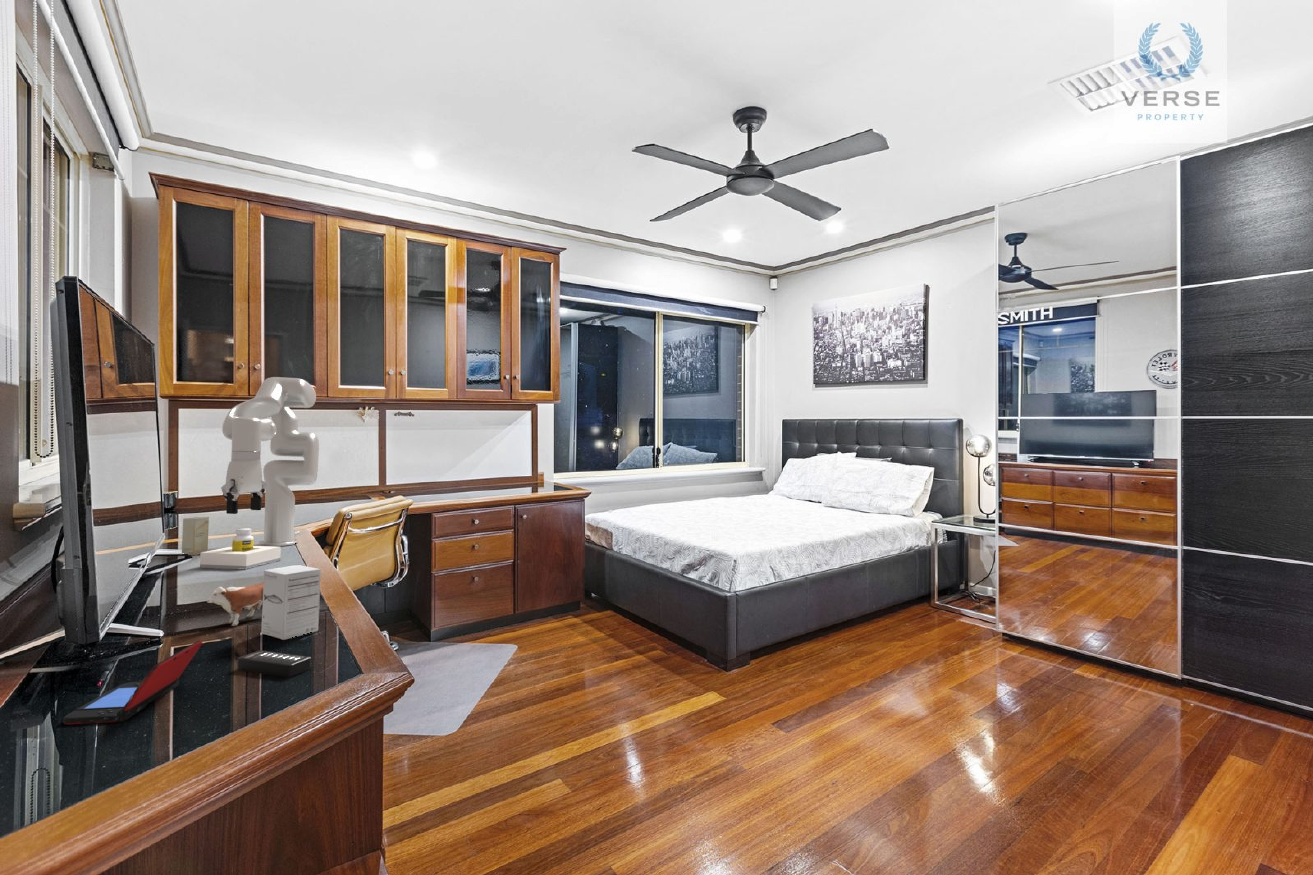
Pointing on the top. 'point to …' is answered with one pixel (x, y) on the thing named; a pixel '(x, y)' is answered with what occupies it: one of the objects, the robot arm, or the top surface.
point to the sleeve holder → (239, 557)
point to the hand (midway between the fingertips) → (244, 511)
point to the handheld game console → (135, 692)
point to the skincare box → (195, 535)
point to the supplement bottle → (242, 540)
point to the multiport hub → (274, 663)
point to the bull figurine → (238, 600)
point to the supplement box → (290, 601)
